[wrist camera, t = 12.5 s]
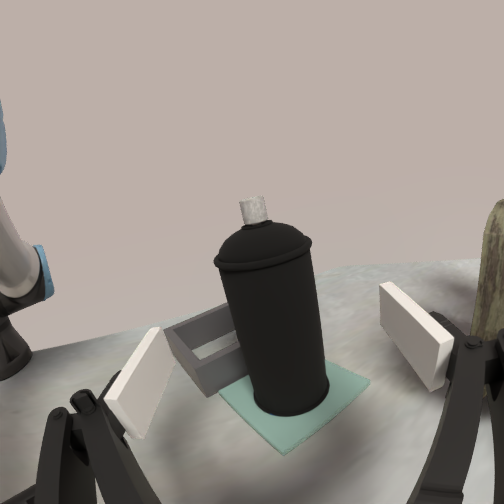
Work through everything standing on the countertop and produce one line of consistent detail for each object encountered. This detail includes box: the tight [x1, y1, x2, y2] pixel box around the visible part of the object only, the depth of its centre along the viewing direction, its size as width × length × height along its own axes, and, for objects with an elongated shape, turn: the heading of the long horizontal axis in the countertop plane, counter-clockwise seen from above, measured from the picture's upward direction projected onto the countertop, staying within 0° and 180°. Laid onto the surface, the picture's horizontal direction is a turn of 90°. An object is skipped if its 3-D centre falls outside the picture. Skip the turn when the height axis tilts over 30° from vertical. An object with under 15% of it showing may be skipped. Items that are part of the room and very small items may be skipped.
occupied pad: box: [218, 360, 370, 456], centre depth 27 cm, size 12×12×1 cm
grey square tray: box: [163, 302, 249, 397], centre depth 36 cm, size 13×13×4 cm
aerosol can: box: [214, 196, 330, 417], centre depth 24 cm, size 8×8×20 cm
